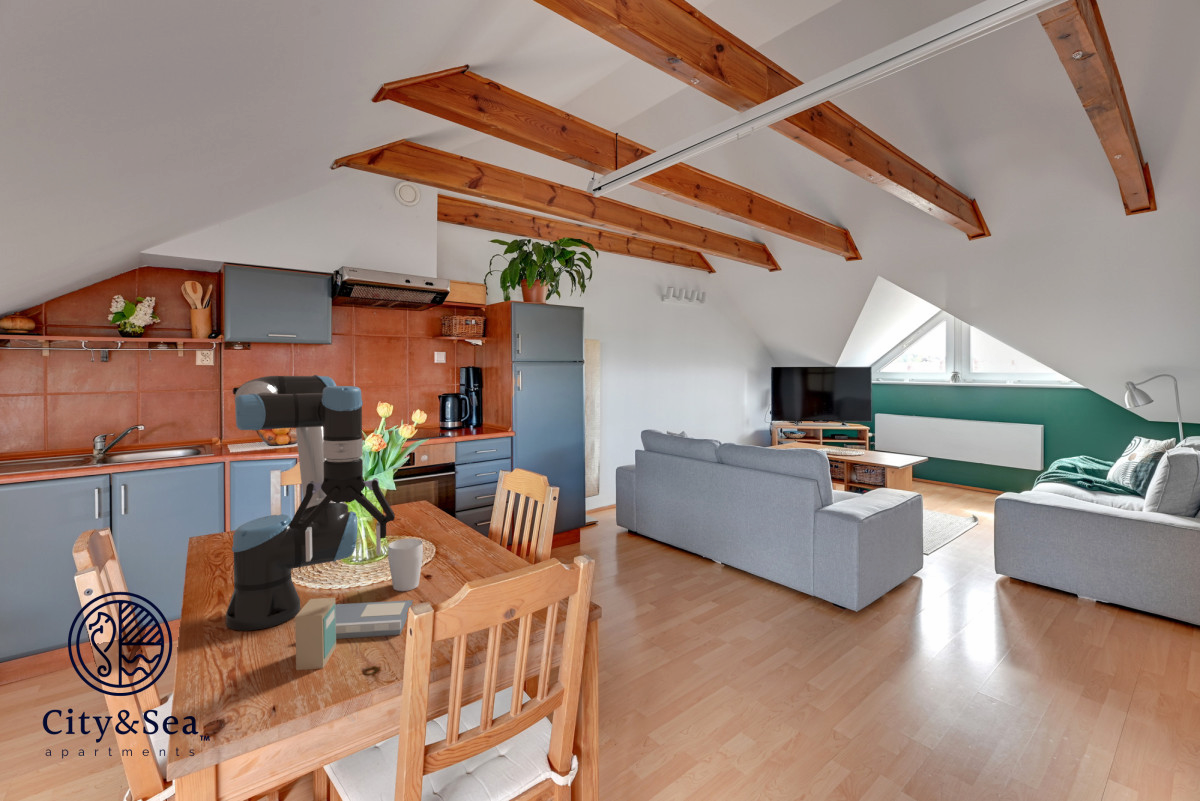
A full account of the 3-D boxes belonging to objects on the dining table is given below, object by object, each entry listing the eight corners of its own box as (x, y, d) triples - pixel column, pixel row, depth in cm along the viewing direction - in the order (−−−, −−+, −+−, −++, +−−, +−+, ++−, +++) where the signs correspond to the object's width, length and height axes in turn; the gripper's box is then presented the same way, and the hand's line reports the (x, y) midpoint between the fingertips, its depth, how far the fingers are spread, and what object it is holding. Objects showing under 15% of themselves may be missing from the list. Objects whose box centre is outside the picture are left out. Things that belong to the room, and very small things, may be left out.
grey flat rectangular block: (304, 641, 116) (304, 628, 116) (328, 609, 131) (328, 597, 131) (400, 635, 119) (399, 622, 119) (412, 604, 134) (412, 593, 134)
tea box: (324, 668, 106) (323, 615, 105) (296, 670, 105) (295, 616, 104) (337, 647, 114) (336, 597, 113) (311, 648, 113) (310, 598, 112)
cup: (411, 594, 140) (411, 550, 139) (381, 591, 142) (380, 547, 141) (429, 581, 149) (429, 539, 148) (400, 578, 150) (400, 537, 150)
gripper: (271, 464, 104) (274, 568, 106) (405, 459, 113) (405, 555, 114) (280, 457, 112) (282, 555, 113) (405, 453, 120) (406, 544, 121)
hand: (344, 556), depth 114 cm, fingers open, 13 cm apart
